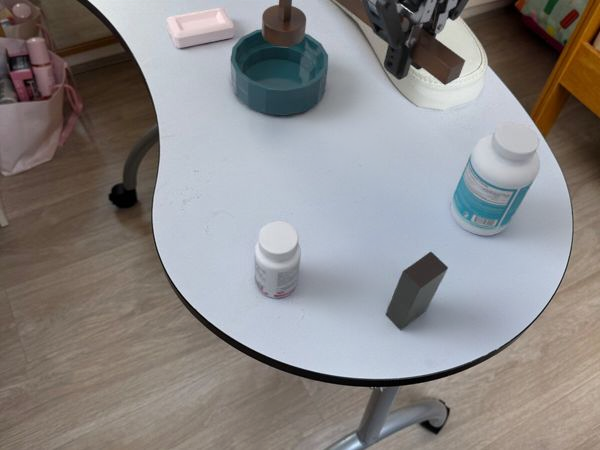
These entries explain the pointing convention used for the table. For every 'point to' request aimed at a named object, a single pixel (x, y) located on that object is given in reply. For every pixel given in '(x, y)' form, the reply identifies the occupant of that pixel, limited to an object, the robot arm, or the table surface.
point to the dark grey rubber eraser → (415, 290)
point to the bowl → (278, 74)
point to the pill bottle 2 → (496, 179)
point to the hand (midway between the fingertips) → (404, 67)
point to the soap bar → (200, 27)
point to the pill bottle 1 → (277, 259)
